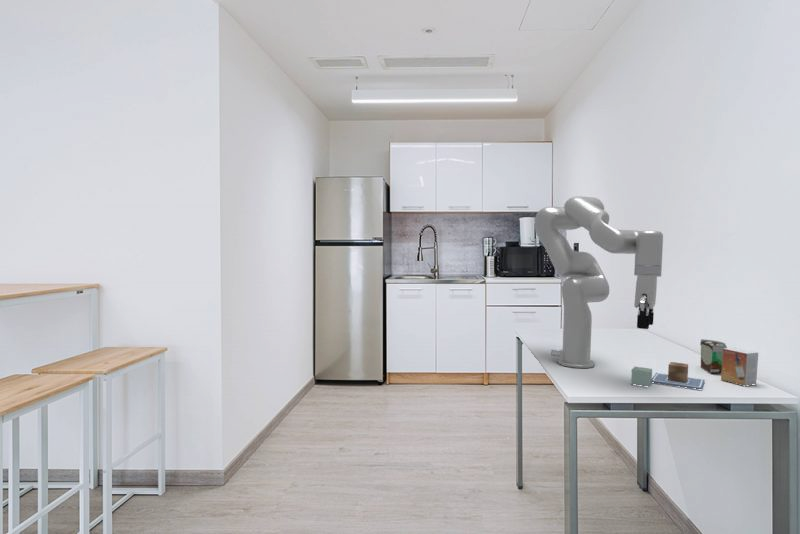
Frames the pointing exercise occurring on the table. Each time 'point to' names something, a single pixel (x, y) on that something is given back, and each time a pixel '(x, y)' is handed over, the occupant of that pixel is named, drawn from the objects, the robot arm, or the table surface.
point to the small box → (739, 366)
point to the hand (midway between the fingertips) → (645, 326)
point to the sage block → (641, 376)
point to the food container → (712, 356)
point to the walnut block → (678, 372)
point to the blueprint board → (689, 384)
